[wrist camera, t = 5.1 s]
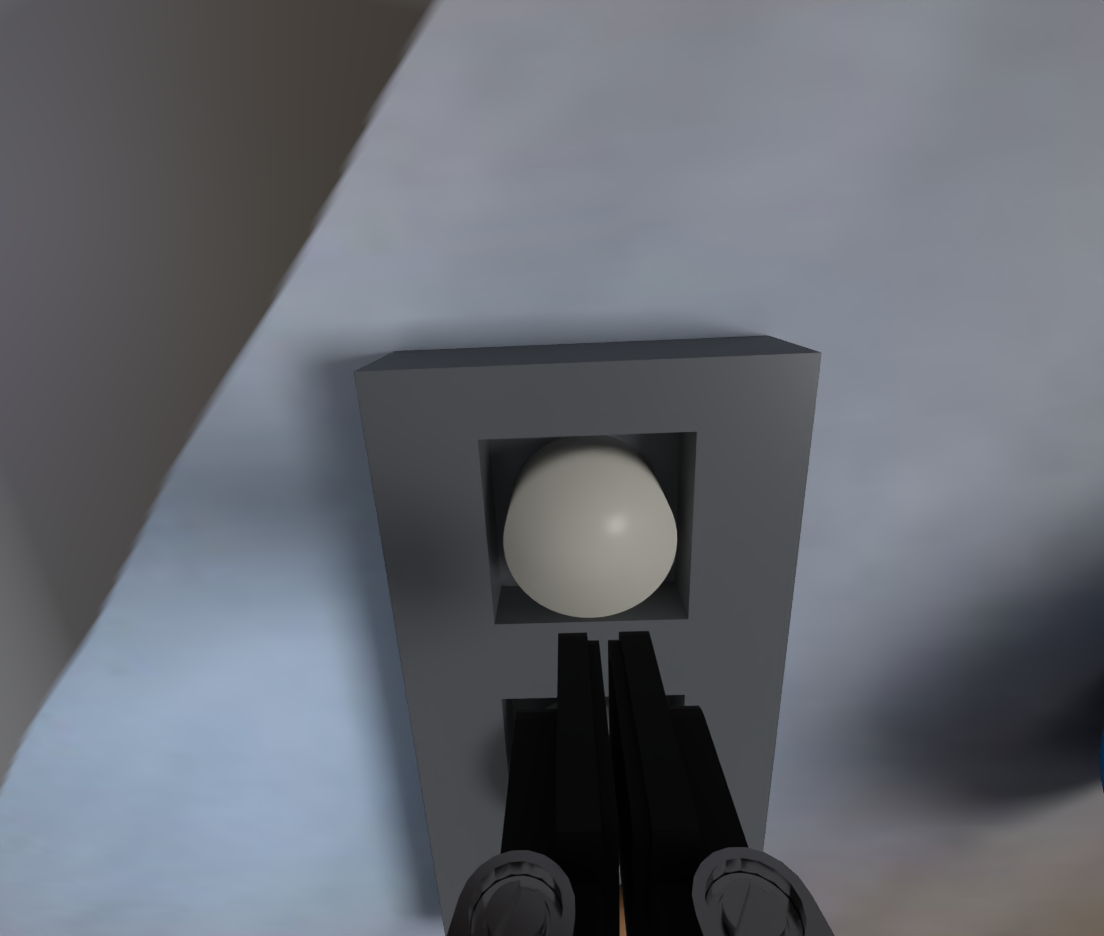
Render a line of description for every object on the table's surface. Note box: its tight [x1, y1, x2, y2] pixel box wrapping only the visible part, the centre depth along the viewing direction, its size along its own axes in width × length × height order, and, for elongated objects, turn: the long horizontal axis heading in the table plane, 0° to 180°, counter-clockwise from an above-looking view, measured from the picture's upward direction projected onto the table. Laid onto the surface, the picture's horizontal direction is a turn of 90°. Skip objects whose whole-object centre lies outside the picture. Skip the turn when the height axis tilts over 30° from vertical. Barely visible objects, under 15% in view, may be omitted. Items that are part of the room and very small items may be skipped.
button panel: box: [354, 336, 821, 936], centre depth 19 cm, size 25×11×4 cm, turn 2°
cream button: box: [503, 435, 677, 618], centre depth 15 cm, size 4×4×2 cm
